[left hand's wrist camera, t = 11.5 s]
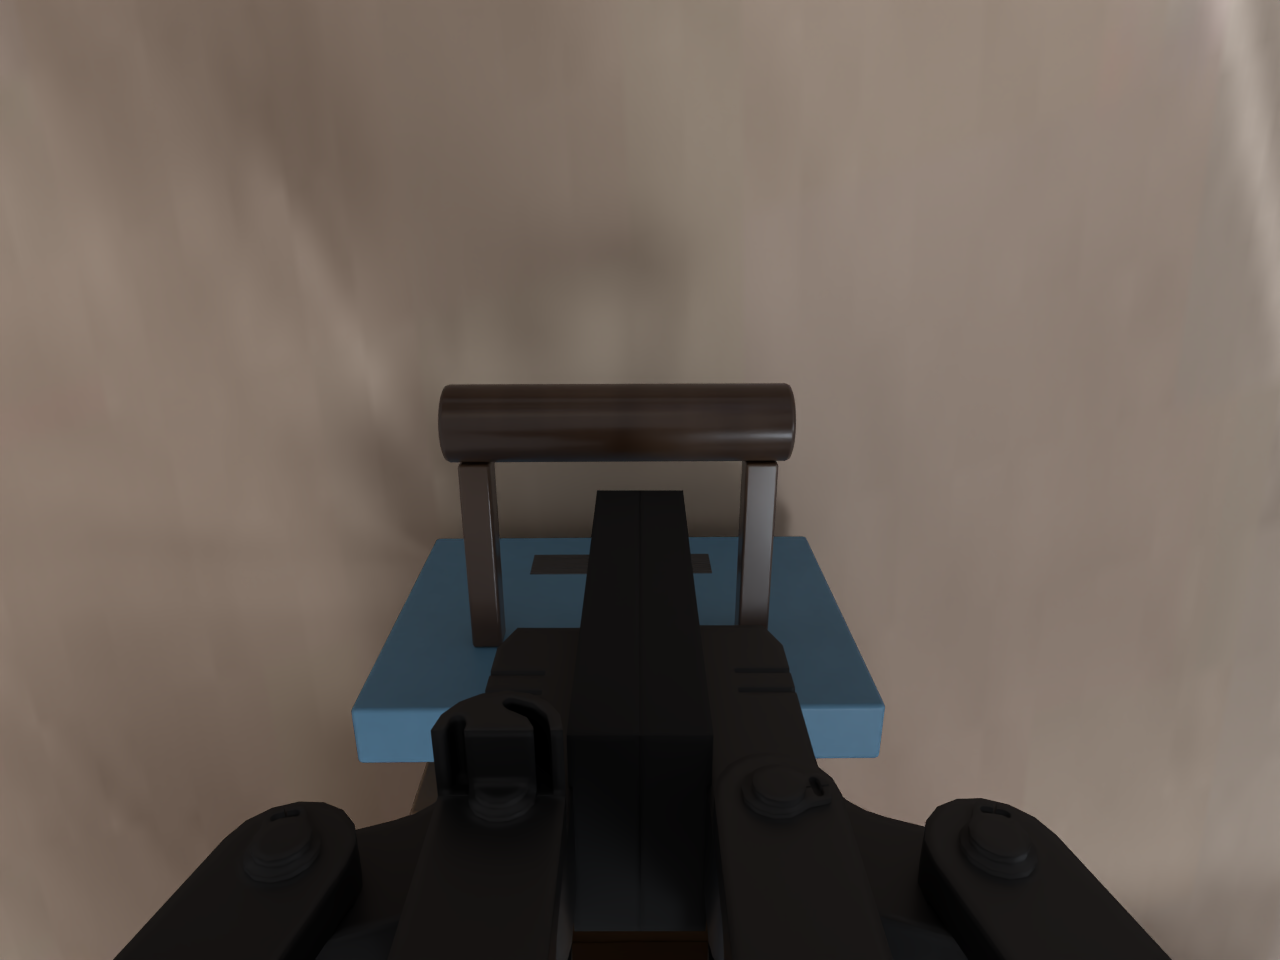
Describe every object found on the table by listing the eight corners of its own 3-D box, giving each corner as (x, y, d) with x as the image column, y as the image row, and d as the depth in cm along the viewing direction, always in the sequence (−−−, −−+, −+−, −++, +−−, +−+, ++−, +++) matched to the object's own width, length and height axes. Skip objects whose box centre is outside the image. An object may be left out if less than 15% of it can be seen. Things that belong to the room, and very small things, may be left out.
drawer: (416, 332, 20) (305, 423, 13) (821, 331, 20) (922, 420, 13) (474, 930, 26) (422, 1194, 20) (775, 926, 27) (825, 1187, 20)
